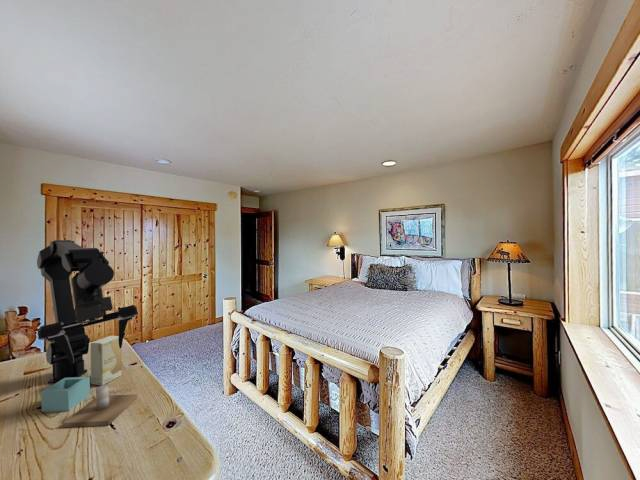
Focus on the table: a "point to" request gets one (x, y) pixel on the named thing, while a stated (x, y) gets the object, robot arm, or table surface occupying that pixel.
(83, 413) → the post plate
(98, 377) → the skincare box
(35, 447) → the table surface
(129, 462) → the table surface
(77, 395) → the collar
